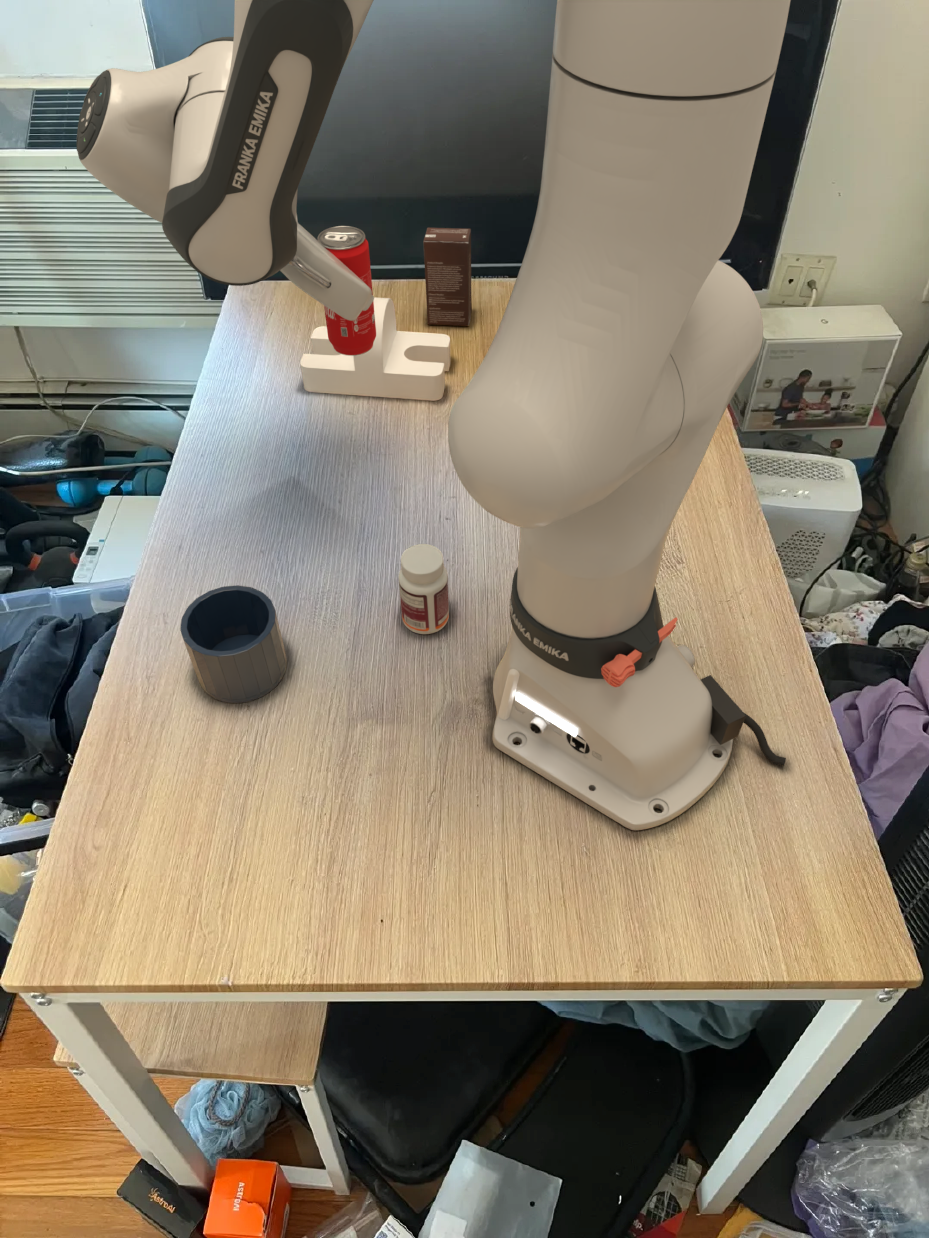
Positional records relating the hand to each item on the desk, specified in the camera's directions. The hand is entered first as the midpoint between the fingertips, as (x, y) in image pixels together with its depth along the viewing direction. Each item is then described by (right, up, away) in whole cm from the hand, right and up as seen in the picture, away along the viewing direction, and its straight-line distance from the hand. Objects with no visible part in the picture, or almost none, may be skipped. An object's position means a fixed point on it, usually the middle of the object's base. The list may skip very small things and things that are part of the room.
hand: (352, 288), depth 94 cm
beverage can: (-1, -5, +5) cm, 7 cm away
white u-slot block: (0, -3, +25) cm, 25 cm away
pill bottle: (+8, -34, -3) cm, 35 cm away
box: (+9, +8, +34) cm, 36 cm away
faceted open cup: (-10, -39, -7) cm, 41 cm away
